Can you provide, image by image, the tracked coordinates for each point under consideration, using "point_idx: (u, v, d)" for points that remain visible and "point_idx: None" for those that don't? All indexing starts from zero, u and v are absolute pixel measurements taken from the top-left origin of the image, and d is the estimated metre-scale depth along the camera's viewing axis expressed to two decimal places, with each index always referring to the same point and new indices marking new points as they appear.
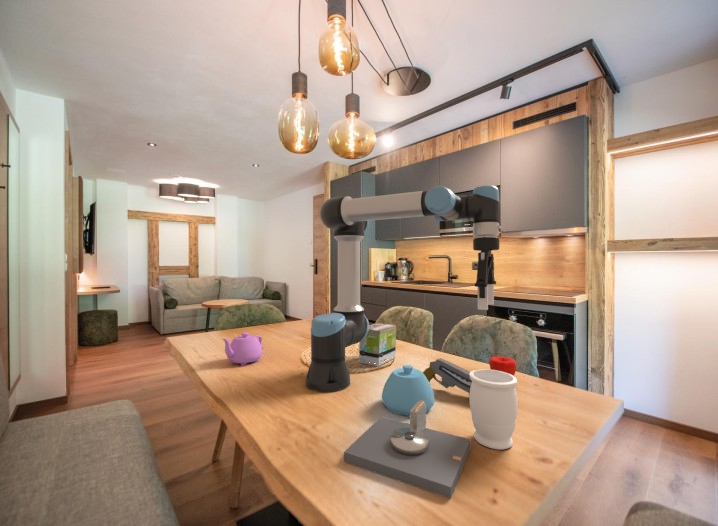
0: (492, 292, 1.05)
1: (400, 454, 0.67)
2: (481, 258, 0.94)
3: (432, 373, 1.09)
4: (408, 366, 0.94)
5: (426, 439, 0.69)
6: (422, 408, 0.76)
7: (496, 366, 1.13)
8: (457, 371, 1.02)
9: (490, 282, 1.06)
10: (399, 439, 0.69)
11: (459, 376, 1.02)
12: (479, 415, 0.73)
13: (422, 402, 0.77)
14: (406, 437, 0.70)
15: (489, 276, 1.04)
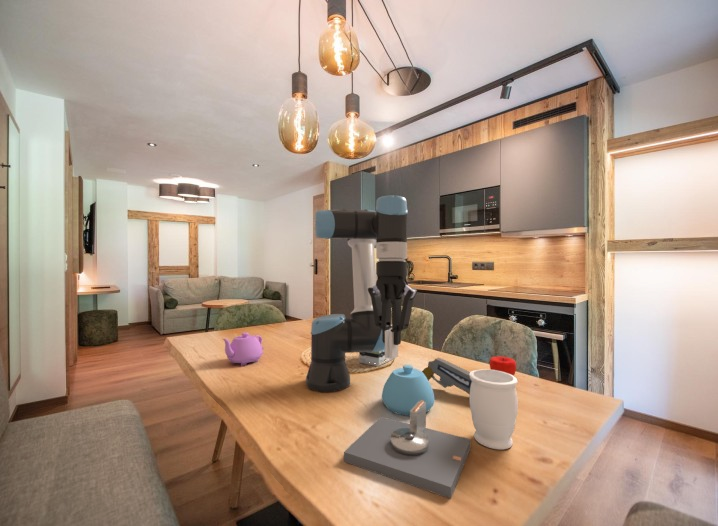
0: None
1: (400, 454, 0.67)
2: None
3: (430, 373, 1.09)
4: (408, 366, 0.94)
5: (426, 439, 0.69)
6: (422, 408, 0.76)
7: (496, 366, 1.13)
8: (455, 371, 1.03)
9: None
10: (399, 439, 0.69)
11: (457, 376, 1.03)
12: (479, 415, 0.73)
13: (422, 402, 0.77)
14: (406, 437, 0.70)
15: None
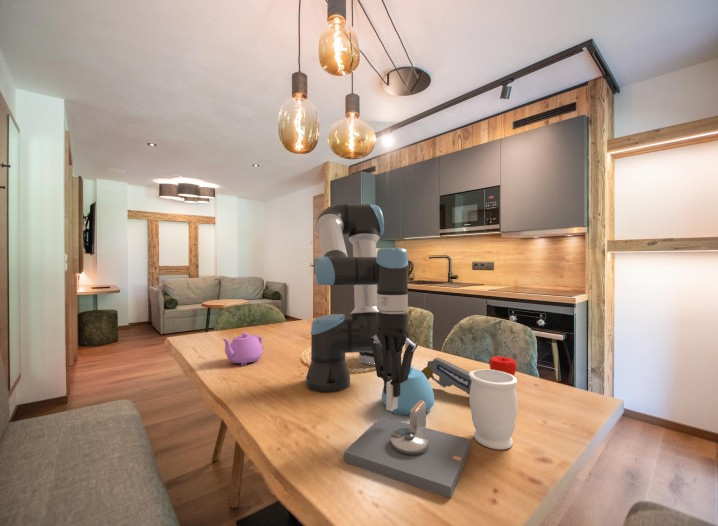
0: None
1: (400, 454, 0.67)
2: None
3: (430, 372, 1.09)
4: None
5: (426, 439, 0.69)
6: (422, 408, 0.76)
7: (496, 366, 1.13)
8: (454, 370, 1.03)
9: None
10: (399, 439, 0.69)
11: (456, 375, 1.03)
12: (479, 415, 0.73)
13: (422, 402, 0.77)
14: (406, 437, 0.70)
15: None
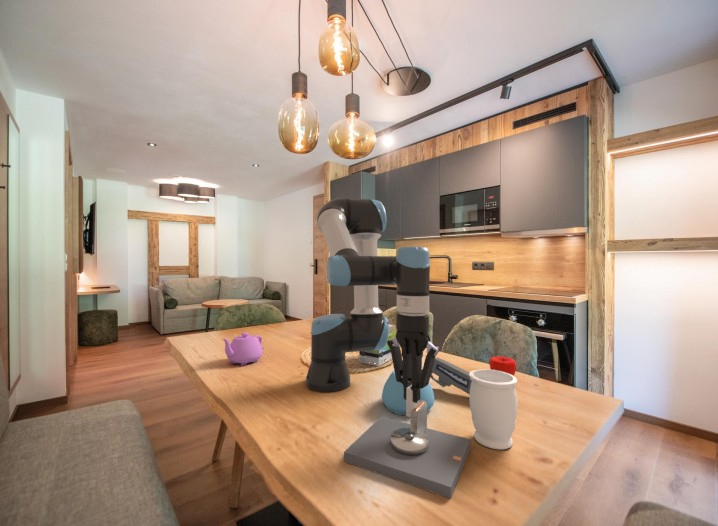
0: None
1: (400, 454, 0.67)
2: None
3: None
4: None
5: (426, 439, 0.69)
6: (423, 408, 0.75)
7: (496, 366, 1.13)
8: (454, 370, 1.03)
9: None
10: (398, 439, 0.69)
11: (456, 375, 1.03)
12: (479, 415, 0.73)
13: (423, 402, 0.77)
14: (406, 437, 0.70)
15: None
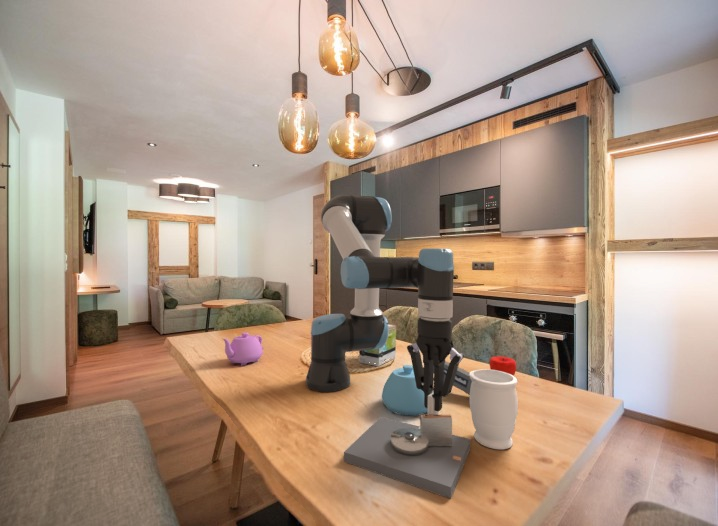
0: None
1: (400, 454, 0.67)
2: None
3: None
4: (408, 366, 0.94)
5: (417, 446, 0.67)
6: (440, 420, 0.70)
7: (496, 366, 1.13)
8: None
9: None
10: (398, 433, 0.72)
11: None
12: (479, 415, 0.73)
13: (446, 416, 0.70)
14: (405, 435, 0.71)
15: None
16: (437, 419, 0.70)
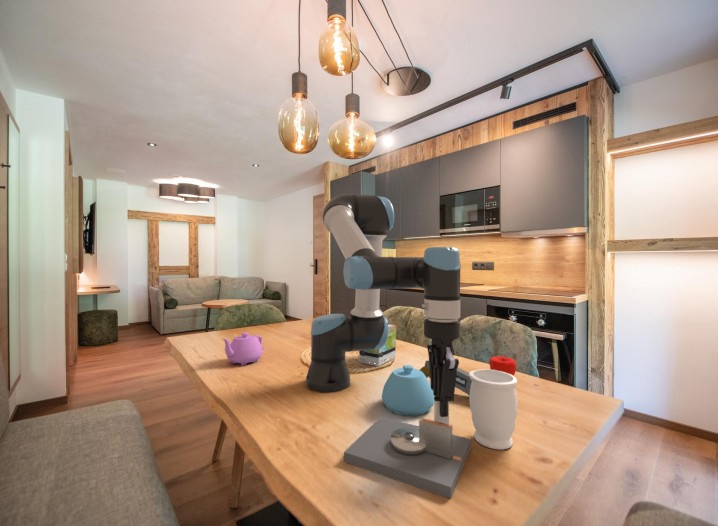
0: None
1: (400, 454, 0.67)
2: None
3: (427, 372, 1.10)
4: (408, 366, 0.94)
5: (407, 446, 0.67)
6: (437, 428, 0.66)
7: (496, 366, 1.13)
8: None
9: None
10: (403, 431, 0.73)
11: None
12: (479, 415, 0.73)
13: (446, 426, 0.66)
14: None
15: None
16: (435, 426, 0.67)
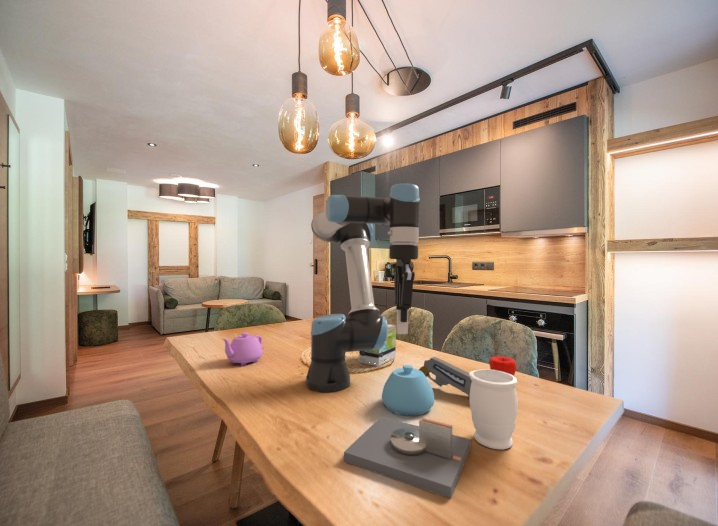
0: None
1: (400, 454, 0.67)
2: None
3: (426, 371, 1.10)
4: (408, 366, 0.94)
5: (407, 446, 0.67)
6: (437, 428, 0.66)
7: (496, 366, 1.13)
8: (450, 369, 1.04)
9: None
10: (403, 431, 0.73)
11: (452, 374, 1.04)
12: (479, 415, 0.73)
13: (446, 426, 0.66)
14: None
15: None
16: (435, 426, 0.67)
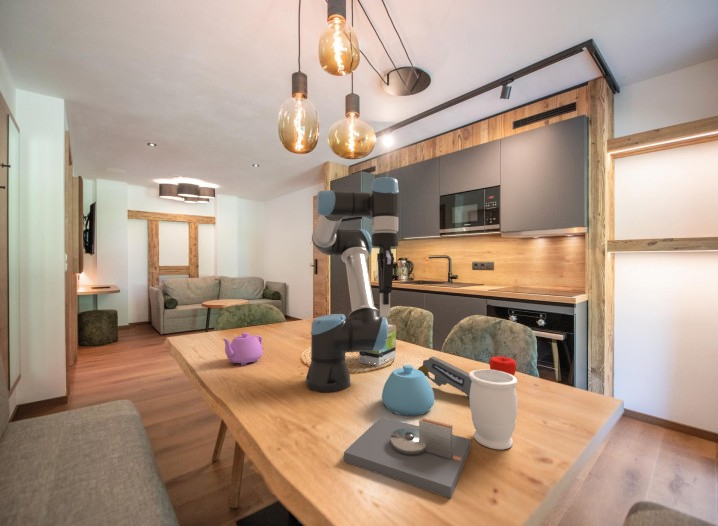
0: None
1: (400, 454, 0.67)
2: None
3: (425, 371, 1.11)
4: (408, 366, 0.94)
5: (407, 446, 0.67)
6: (437, 428, 0.66)
7: (496, 366, 1.13)
8: (449, 369, 1.04)
9: None
10: (403, 431, 0.73)
11: (451, 374, 1.04)
12: (479, 415, 0.73)
13: (446, 426, 0.66)
14: None
15: None
16: (435, 426, 0.67)
